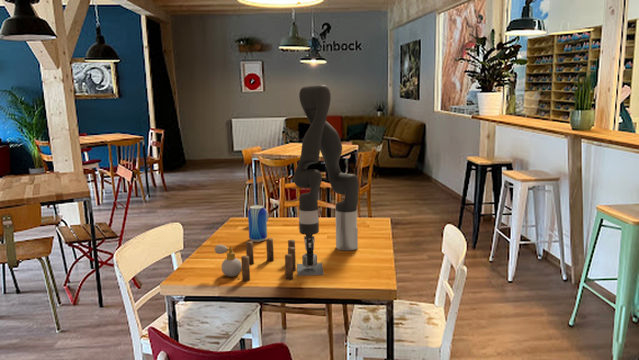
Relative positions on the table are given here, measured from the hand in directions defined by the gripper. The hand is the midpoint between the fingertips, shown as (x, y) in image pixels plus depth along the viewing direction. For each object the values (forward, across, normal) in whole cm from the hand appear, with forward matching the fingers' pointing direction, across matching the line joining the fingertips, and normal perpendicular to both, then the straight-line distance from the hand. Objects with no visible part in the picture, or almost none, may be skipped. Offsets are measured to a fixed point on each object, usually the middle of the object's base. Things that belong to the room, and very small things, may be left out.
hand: (309, 262), depth 183 cm
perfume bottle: (+3, -3, +31) cm, 31 cm away
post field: (+3, +2, +16) cm, 16 cm away
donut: (+3, +64, +24) cm, 68 cm away
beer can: (+3, +40, +23) cm, 46 cm away
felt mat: (+3, 0, 0) cm, 3 cm away
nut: (+1, 0, 0) cm, 1 cm away
